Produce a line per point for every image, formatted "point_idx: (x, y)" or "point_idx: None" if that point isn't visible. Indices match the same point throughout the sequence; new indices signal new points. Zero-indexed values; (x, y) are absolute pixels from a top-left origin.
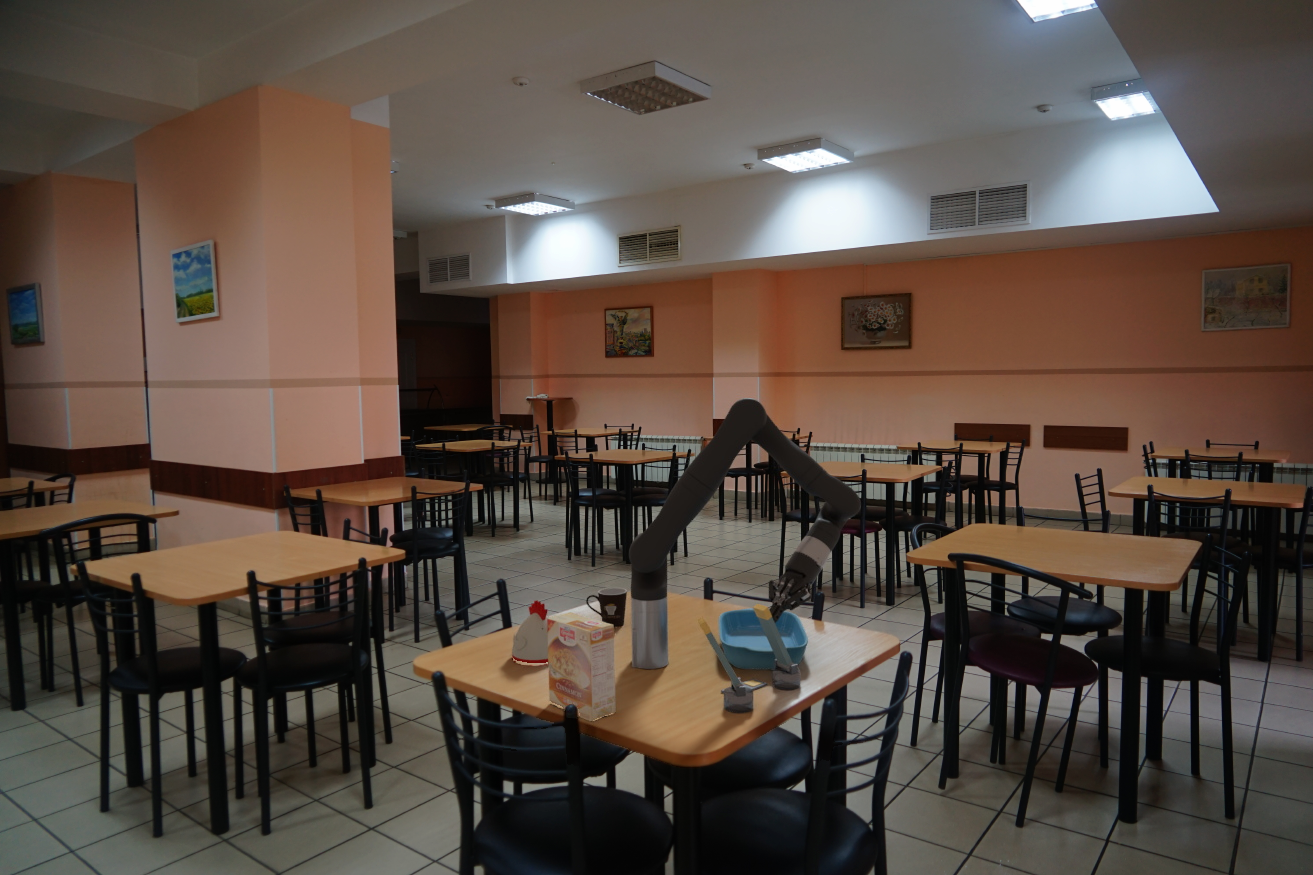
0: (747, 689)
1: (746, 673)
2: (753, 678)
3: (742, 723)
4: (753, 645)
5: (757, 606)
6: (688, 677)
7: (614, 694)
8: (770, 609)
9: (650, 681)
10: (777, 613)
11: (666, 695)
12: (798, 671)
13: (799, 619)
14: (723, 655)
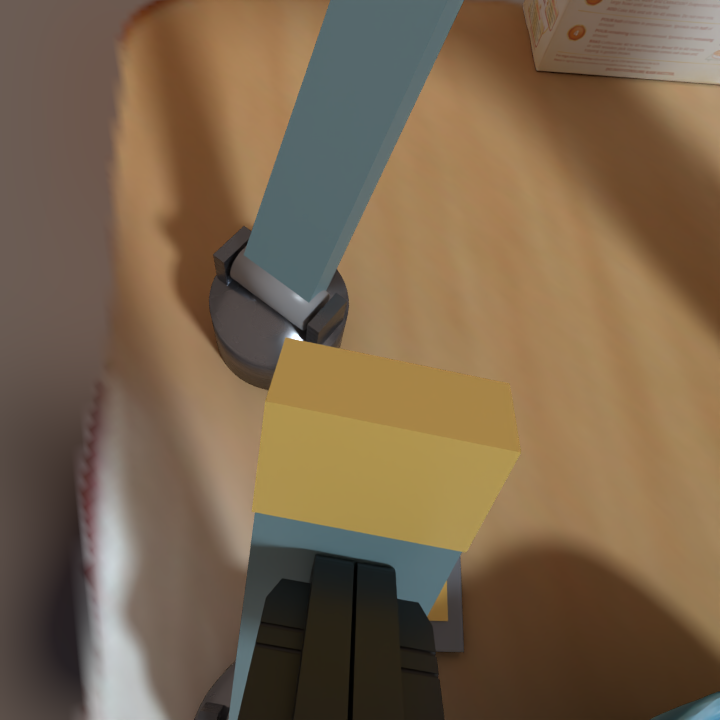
0: (263, 344)
1: (559, 708)
2: (463, 651)
3: (169, 231)
4: None
5: (457, 401)
6: (675, 445)
7: (559, 11)
8: (393, 655)
9: (717, 310)
10: (253, 653)
11: (560, 251)
12: None
13: None
14: (304, 89)
